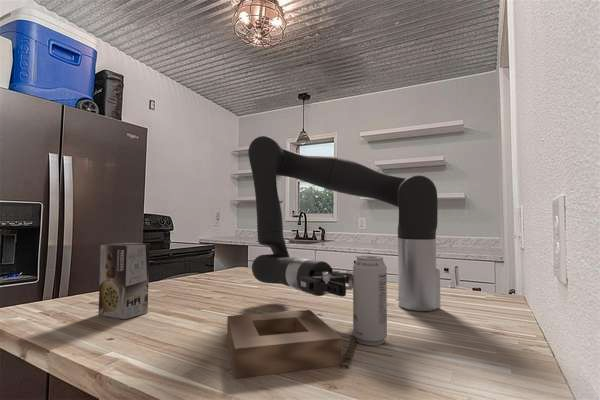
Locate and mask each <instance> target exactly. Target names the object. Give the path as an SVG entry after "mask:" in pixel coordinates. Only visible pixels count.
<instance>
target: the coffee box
mask: <svg viewBox="0 0 600 400" xmlns="http://www.w3.org/2000/svg"><path fill="white" fill-rule="evenodd" d="M150 246H151V243H142V242H115V243H108V244H107V243H106V244H100V255H99V258H100V259H99V260H100V261H99V287H98V290H99V291H98V292H99V293H98V316H103V317H108V318H109V317H110V318H115V319H121V320H127V319H130V318H131V319H132V318H135V317H137V316H141V315H145V314H147V313H148V311H149V308H148V307H149V305H148V304H149V281H150V280H149V279H150V278H149V277H150V273H149V272H150V248H151V247H150Z"/></svg>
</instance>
